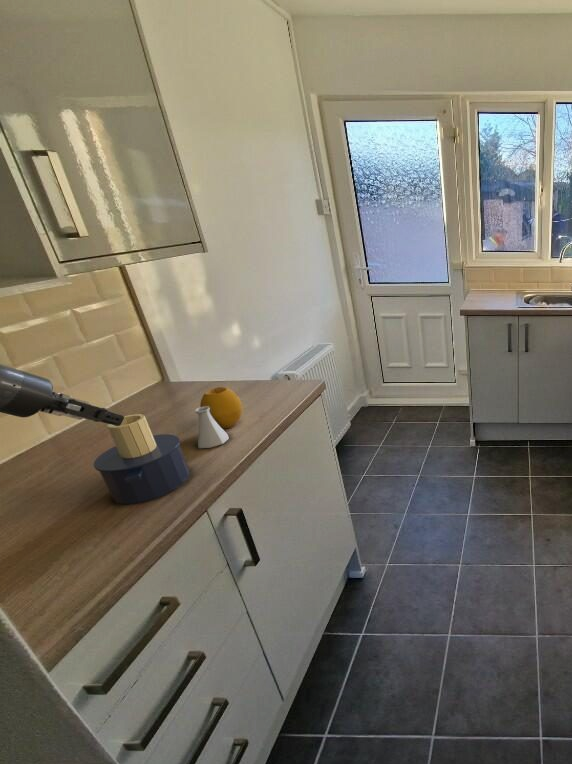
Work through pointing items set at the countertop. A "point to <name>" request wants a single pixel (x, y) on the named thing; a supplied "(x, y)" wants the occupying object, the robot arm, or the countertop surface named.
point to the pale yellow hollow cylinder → (133, 436)
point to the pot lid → (116, 463)
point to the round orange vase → (223, 406)
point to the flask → (209, 429)
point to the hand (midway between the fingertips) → (107, 418)
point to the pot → (148, 479)
